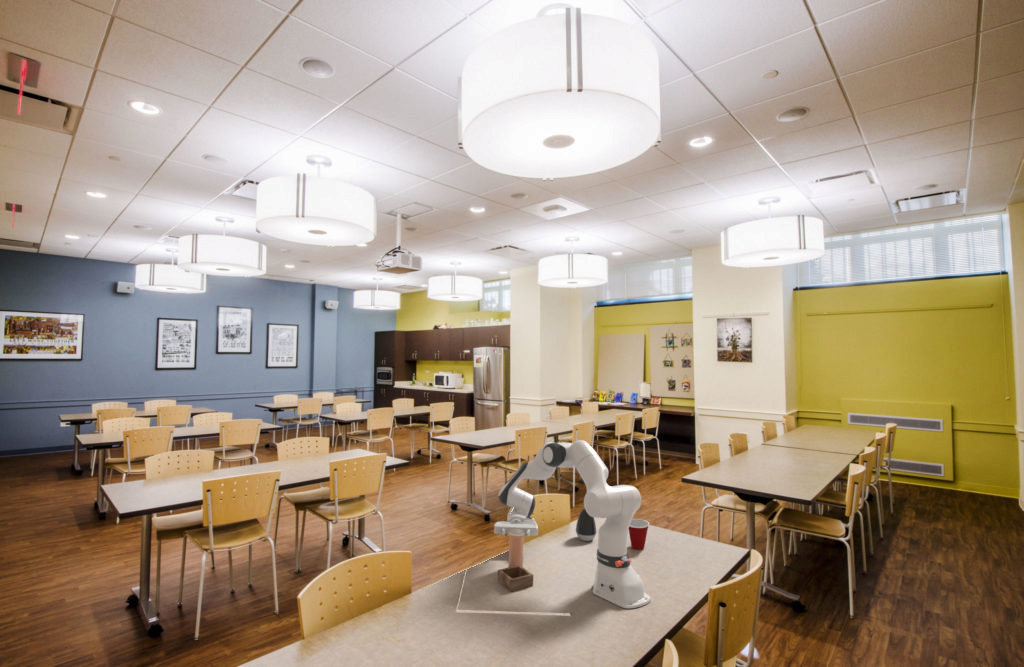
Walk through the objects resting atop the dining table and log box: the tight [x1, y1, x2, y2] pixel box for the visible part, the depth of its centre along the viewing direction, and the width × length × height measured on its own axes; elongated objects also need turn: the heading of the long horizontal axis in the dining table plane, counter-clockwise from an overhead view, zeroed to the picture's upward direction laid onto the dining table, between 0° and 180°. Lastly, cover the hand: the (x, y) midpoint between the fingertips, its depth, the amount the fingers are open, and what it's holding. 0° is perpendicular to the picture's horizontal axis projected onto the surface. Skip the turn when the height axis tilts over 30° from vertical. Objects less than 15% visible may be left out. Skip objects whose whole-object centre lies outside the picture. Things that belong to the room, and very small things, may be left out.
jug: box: [507, 529, 525, 568], centre depth 197 cm, size 9×6×16 cm
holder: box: [497, 565, 534, 593], centre depth 185 cm, size 10×10×5 cm
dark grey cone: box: [575, 507, 597, 542], centre depth 236 cm, size 10×10×15 cm
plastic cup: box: [628, 518, 650, 551], centre depth 227 cm, size 11×11×12 cm
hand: (516, 534), depth 210 cm, fingers open, 8 cm apart
